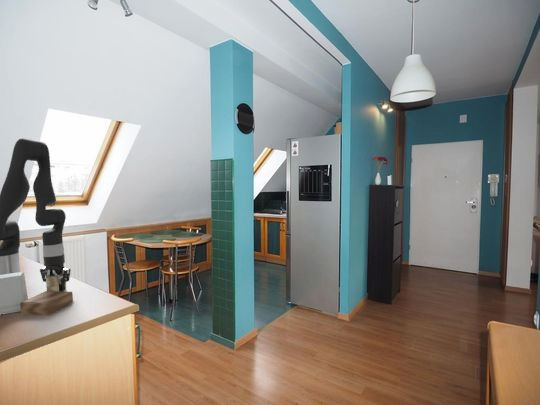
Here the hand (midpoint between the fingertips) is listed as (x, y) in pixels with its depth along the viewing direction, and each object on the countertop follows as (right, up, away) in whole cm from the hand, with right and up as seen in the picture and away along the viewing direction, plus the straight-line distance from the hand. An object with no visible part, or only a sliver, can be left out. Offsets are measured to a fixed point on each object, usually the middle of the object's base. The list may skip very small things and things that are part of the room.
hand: (56, 290), depth 132 cm
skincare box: (-8, -4, -14) cm, 16 cm away
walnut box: (+5, -4, -12) cm, 13 cm away
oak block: (0, -2, 0) cm, 2 cm away
